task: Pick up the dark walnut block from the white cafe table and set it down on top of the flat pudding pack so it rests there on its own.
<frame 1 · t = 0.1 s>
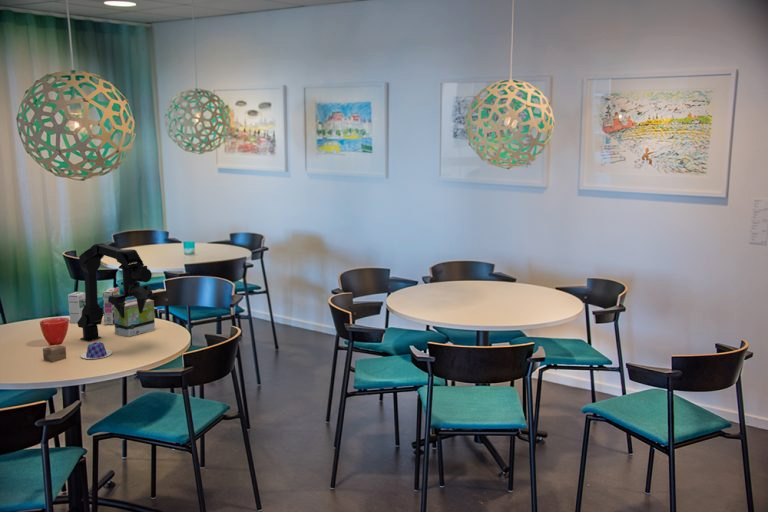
hand: (132, 315, 290), 15 cm above the table, fingers open, 9 cm apart
pudding: (96, 356, 284), on the table
candy bar box: (113, 322, 335), on the table
syrup box: (78, 322, 335), on the table
tea box: (135, 332, 318), on the table
walnut block: (55, 359, 279), on the table
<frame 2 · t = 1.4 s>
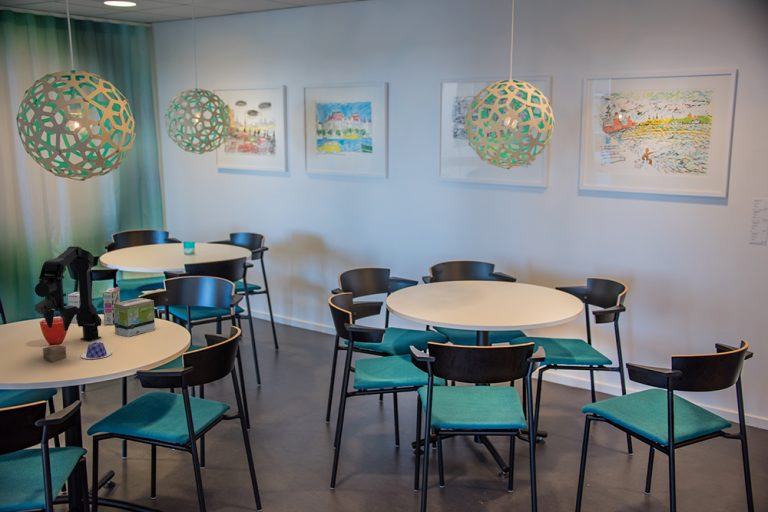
hand: (58, 329, 277), 12 cm above the table, fingers open, 9 cm apart
nothing on the table moved.
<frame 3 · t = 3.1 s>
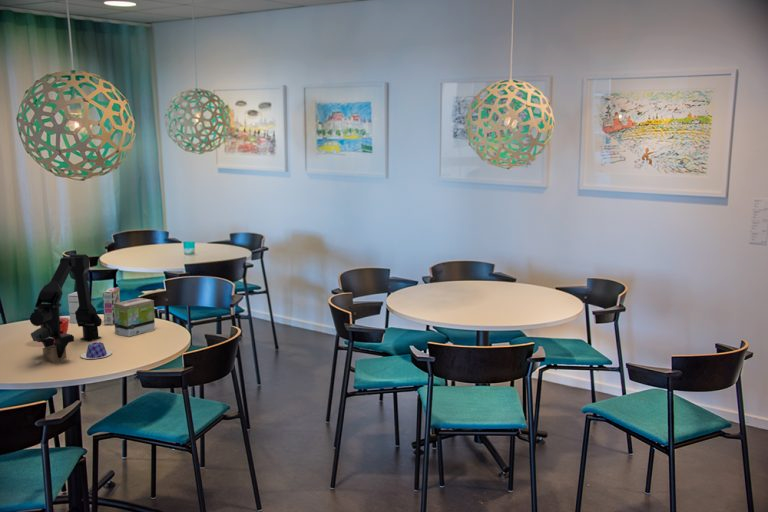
hand: (54, 356, 279), 1 cm above the table, fingers closed on walnut block, 6 cm apart
walnut block: (55, 359, 279), on the table, touching gripper
everything else where it was.
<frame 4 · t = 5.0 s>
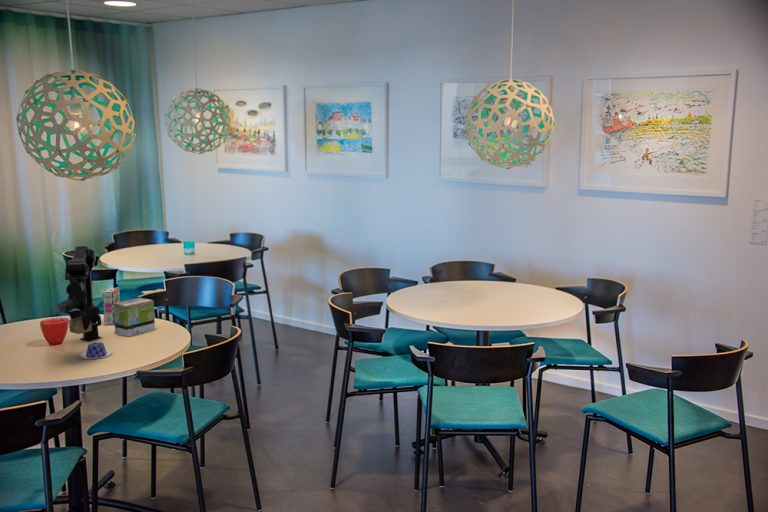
hand: (80, 328, 280), 12 cm above the table, fingers closed on walnut block, 6 cm apart
walnut block: (80, 331, 280), point 11 cm above the table, touching gripper
everything else where it was.
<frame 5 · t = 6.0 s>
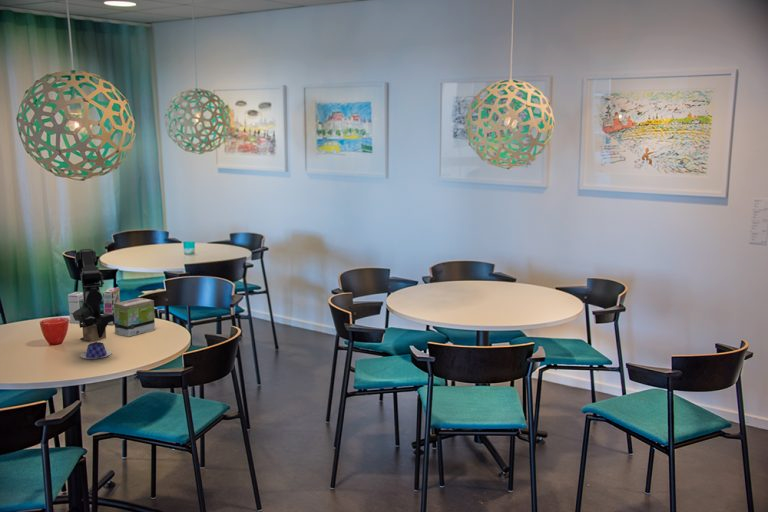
hand: (95, 336, 283), 8 cm above the table, fingers closed on walnut block, 6 cm apart
walnut block: (95, 338, 283), point 7 cm above the table, touching gripper
everything else where it was.
when the fingers open (7 cm above the table, at t = 6.6 s): walnut block drops 2 cm, resting on pudding.
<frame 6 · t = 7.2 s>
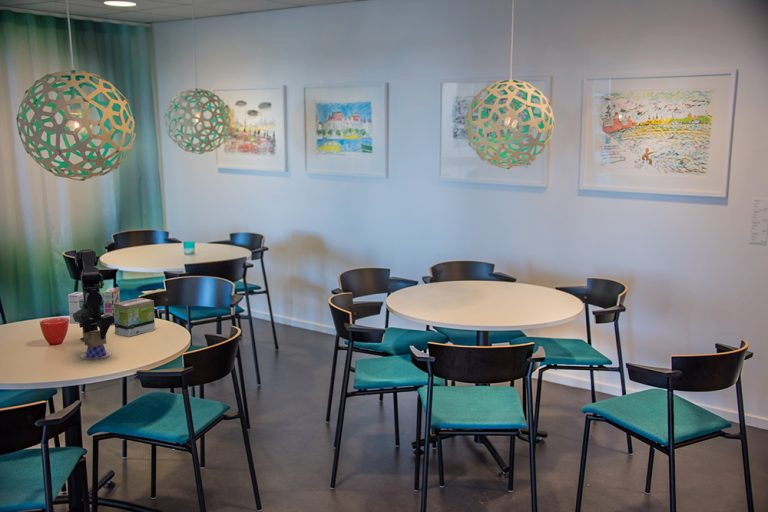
hand: (95, 337, 283), 7 cm above the table, fingers open, 9 cm apart
pudding: (96, 356, 284), on the table, touching walnut block
walnut block: (95, 344, 283), point 5 cm above the table, touching pudding
everything else where it was.
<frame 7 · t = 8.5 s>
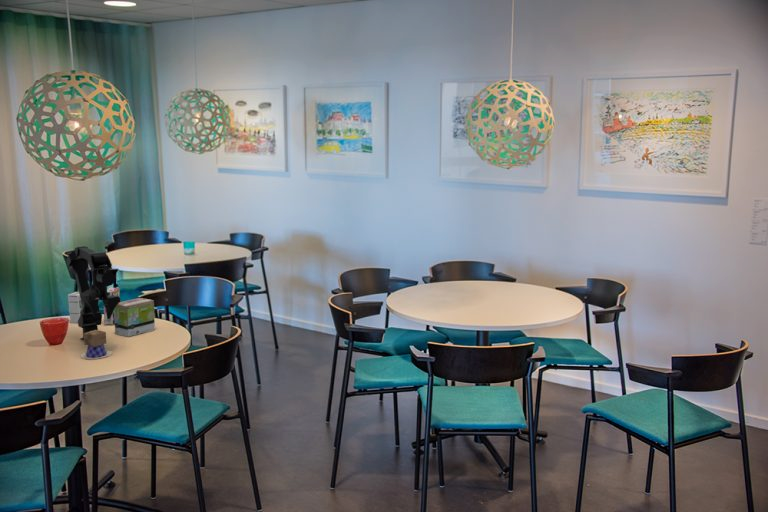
hand: (101, 317, 294), 13 cm above the table, fingers open, 9 cm apart
nothing on the table moved.
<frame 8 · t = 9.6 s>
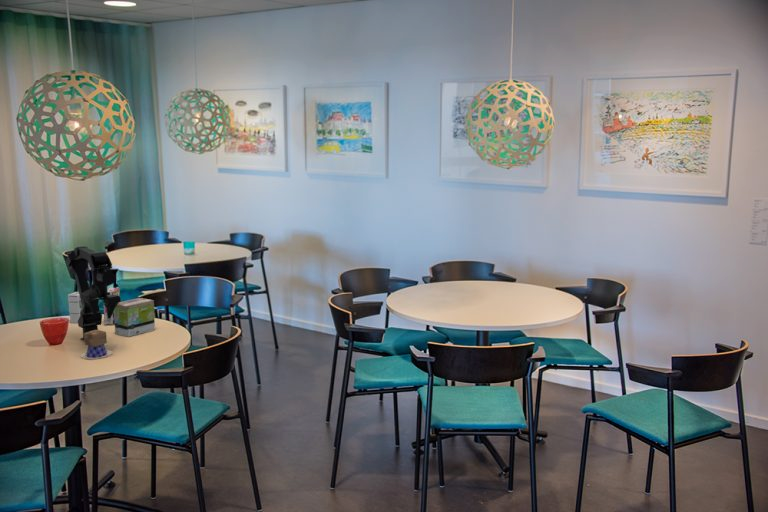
hand: (102, 317, 294), 13 cm above the table, fingers open, 9 cm apart
nothing on the table moved.
at the end: walnut block inside the target area on the pudding (0.2 cm from its centre), point 5.4 cm above the pudding's base; walnut block tilted 0°; the gripper is holding nothing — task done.
